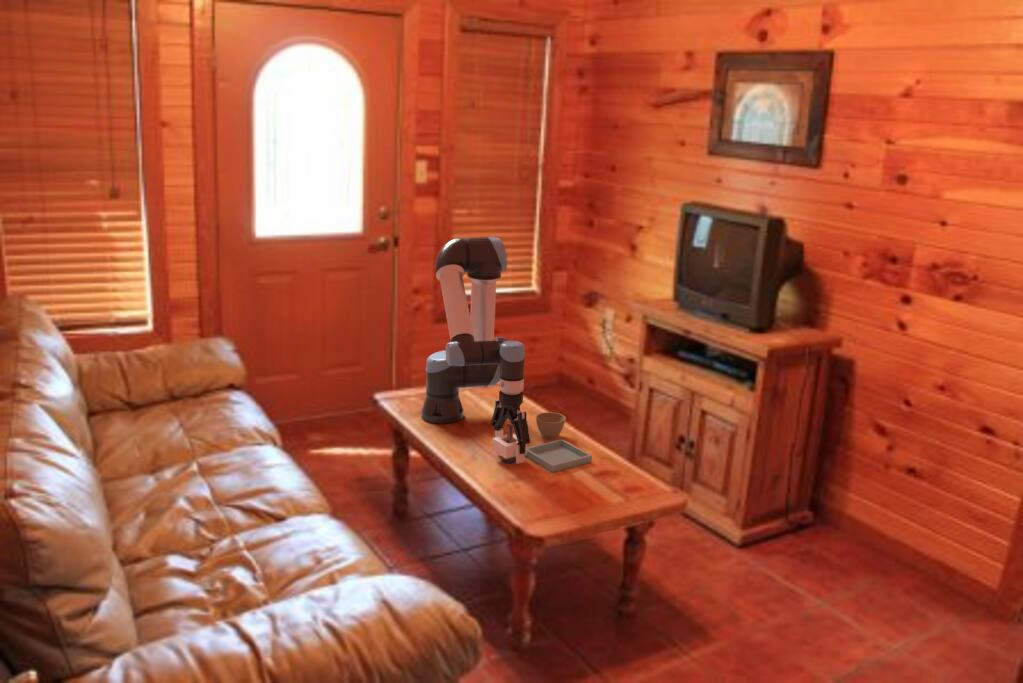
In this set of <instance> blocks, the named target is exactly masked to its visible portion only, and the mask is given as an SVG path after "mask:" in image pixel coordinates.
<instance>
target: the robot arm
mask: <svg viewBox="0 0 1023 683" xmlns="http://www.w3.org/2000/svg"><path fill="white" fill-rule="evenodd" d="M507 268H508V256H507V250H506V247H505V244H504V243H503V240H502V239H501V238H498V237H489V236H484V237H483V236H481V237H478V236H477V237H456V238H453V239H450V240H448V242H446V243H445V244H444V245H443V246H442V247H441V249H440V250H439V251H438V254H437V256H436V260H435V265H434V270H435V272H434V273H435V277H436V279H437V280H438V281H439V283H440V287H441V293H442V299H443V305H444V311H445V312H444V313H445V316H446V321H447V322H446V323H447V327H448V328H447V329H448V334H449V339H450V342H447V343H446V345H445V350H439V351H437V352H434V353H432V354H430V355H429V356H428V357H427V359H426V363H425V365H426V366H425V374H426V375H425V376H426V377H425V378H426V380H425V382H426V383H425V389H426V390H425V391H426V392H425V398H424V401H423V404H422V408H421V411H420V412H421V414H420V415H421V418H422V419H423V421H425V422H429V423H433V424H434V423H435V424H451V423H453V424H454V423H456V422H459V421H460V420H463V418H464V407H463V405H462V401H461V398H460V389H466V388H487V387H492V386H493V387H494V386H496V385H498V384H499V391H498V400H495V402H494V403H495V404H494V410H493V413H492V416H491V421H490V426H491V427H493V431H494V438H495V437H499V436H503V435H504V425H505V423H506V421H507V420H508V421H509V422H510V424H512V425H513V432H514V434H515V435H516V437H517V440H518V443H517V445H516V462H515V464H516V465H517V464H521V463H525V446H526V444H527V445H528V444H531V436H530V432H529V431H530V430H529V426H528V421H527V411H521V405H522V404H523V403H524V390H525V389H524V386H525V385H524V384H525V382H524V381H525V377H524V376H525V360H526V359H525V357H526V352H525V349H526V348H525V344H524V343H523V342H521V341H518V340H510V339H507V338H506V337H504V336H497V337H495V322H496V320H495V318H496V297H497V296H496V294H497V282H498V280H501V277H502V273H503V272H505V271H506V270H507ZM465 273H466V274H467V275H466V277H467V278H468V279H469V280H470V281H471V286H470V308H469V305H468V298H467V294H466V287H465V282H464V276H465Z"/></svg>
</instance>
